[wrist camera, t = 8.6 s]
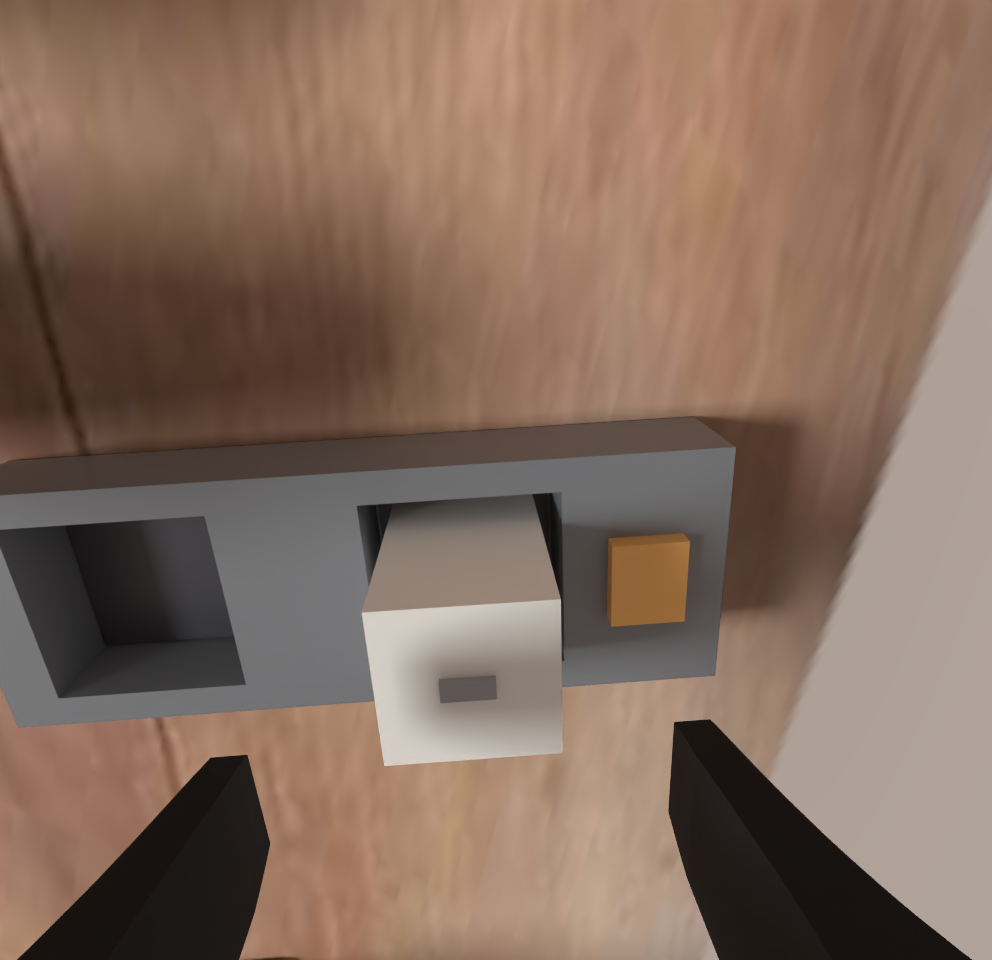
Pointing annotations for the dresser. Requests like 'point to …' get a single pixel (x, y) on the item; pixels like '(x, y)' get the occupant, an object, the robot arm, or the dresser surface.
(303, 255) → the dresser surface
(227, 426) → the dresser surface
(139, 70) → the dresser surface
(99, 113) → the dresser surface
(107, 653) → the power strip
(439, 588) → the block
